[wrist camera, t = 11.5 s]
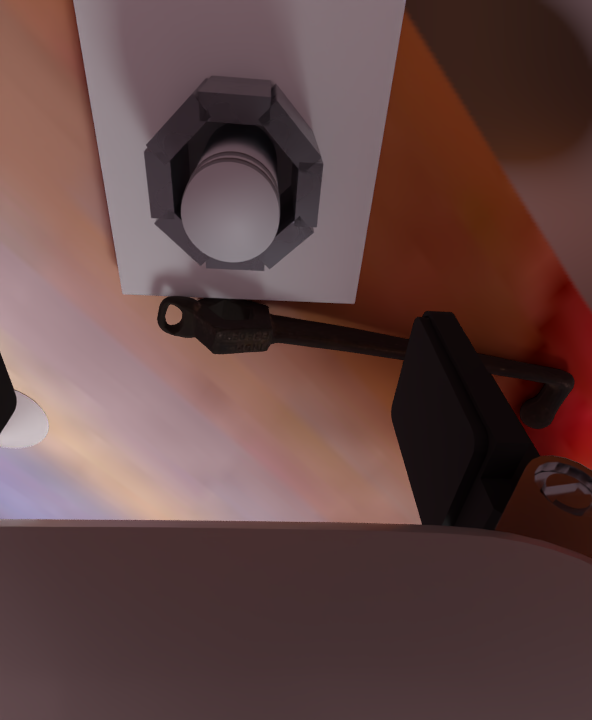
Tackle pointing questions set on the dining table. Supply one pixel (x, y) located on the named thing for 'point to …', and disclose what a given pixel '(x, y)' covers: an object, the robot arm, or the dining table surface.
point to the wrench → (336, 344)
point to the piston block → (240, 135)
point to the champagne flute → (24, 424)
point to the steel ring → (236, 106)
